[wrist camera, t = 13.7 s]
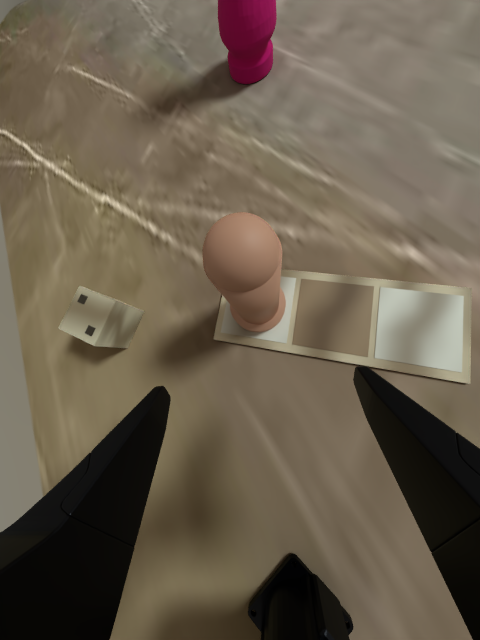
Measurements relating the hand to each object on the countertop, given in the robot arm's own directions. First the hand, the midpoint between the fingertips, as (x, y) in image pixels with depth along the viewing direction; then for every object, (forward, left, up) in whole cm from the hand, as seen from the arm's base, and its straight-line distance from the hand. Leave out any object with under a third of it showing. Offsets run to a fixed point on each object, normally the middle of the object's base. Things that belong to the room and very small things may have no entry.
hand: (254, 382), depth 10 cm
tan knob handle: (+5, +5, -13) cm, 15 cm away
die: (-8, +17, -13) cm, 23 cm away
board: (+9, -2, -13) cm, 16 cm away
